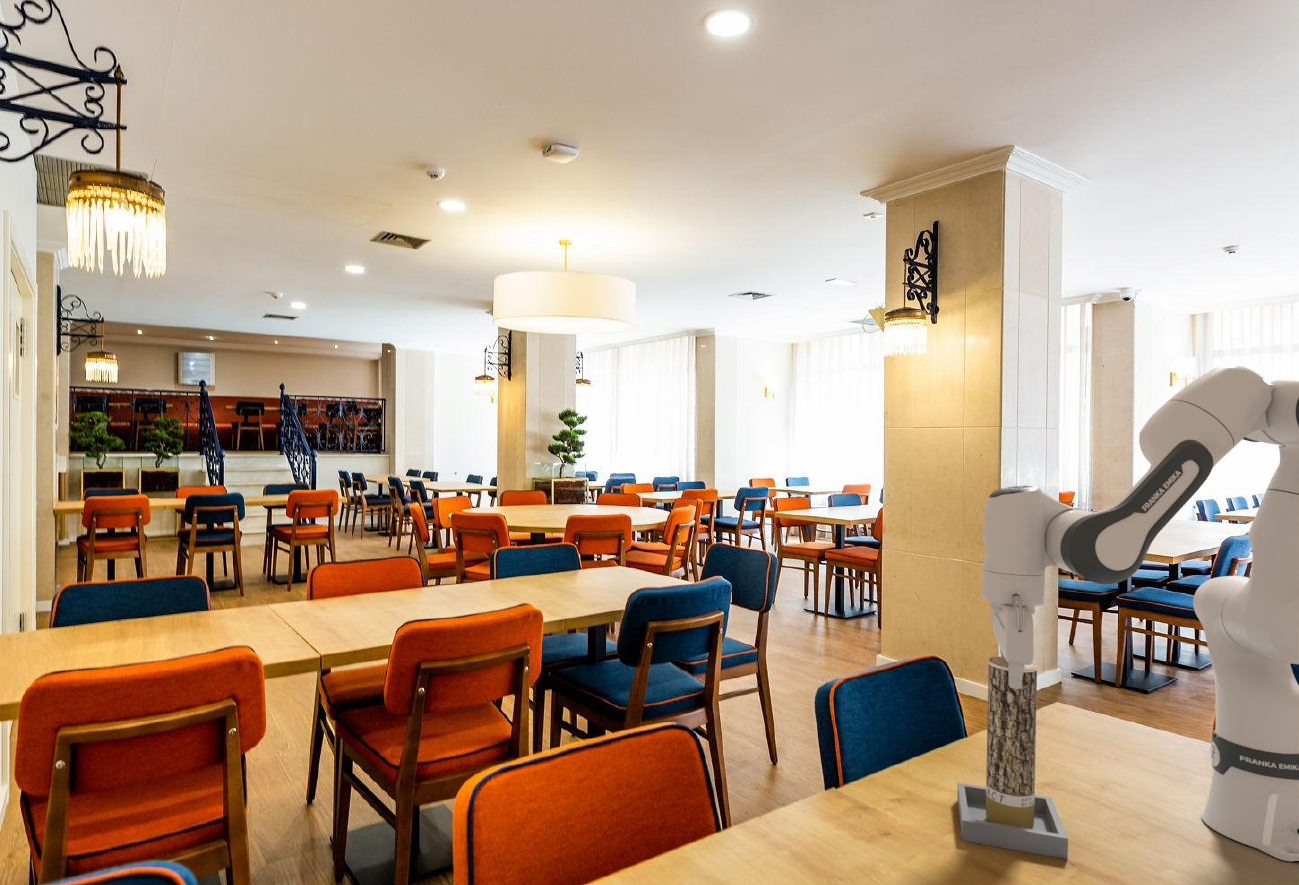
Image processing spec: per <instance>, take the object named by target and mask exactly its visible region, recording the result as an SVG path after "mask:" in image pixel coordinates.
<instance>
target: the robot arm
mask: <svg viewBox="0 0 1299 885" xmlns="http://www.w3.org/2000/svg"><path fill="white" fill-rule="evenodd" d="M1138 440H1139V442H1138V443H1139V448H1140V450H1141V453H1142V455H1143V457H1144V458H1145V460H1147V461H1148V462H1149V464H1150V467H1149V469H1148V470H1147V472H1146V473H1145V474H1144V475H1142V477H1141V478H1140V479H1139V480H1138V481H1137V482H1136V483H1135V484H1134V486H1132V487H1131V488H1130V489H1129V490H1128V491H1127V493H1126V494H1124V496H1123V497H1121V499H1120V500H1119V501H1118V502H1116V504H1114V505H1113V506H1110V507H1109V508H1106V509H1103V510H1099V511H1087V510H1082V509H1078V508H1075V507H1073V506H1071V505H1067V504H1065V503H1062V502H1061V501H1059V500H1056V499H1055V498H1053V497H1052V496H1049V495H1048V494H1047V493H1045V492H1044V491H1042V489H1041V488H1040V487H1038V486H1033V485H1022V486H1020V485H1016V486H1015V485H1014V486H1008V487H1003V488H999V489H997V490H994V491H993V492H992V493H990V494H989V496H988V498H987V500H986V503H985V507H984V508H985V509H984V513H983V514H984V515H983V524H982V525H983V526H982V544H983V548H984V560H983V562H982V564H981V566H982V567H981V569H982V570H981V598H982V599H983V600H984V601H986V602H989V609H990V618H991V627H992V631H993V635H994V637H995V639H996V642H997V643H998V646H999V651H1000V652H999V653H1000V657H1005V659H1006V661H1007V662H1008V684H1009V687H1011V688H1015V689H1021V688H1022V677H1023V672H1024V668H1025V665H1031V664H1032V663H1034V662H1033V661H1034V657H1035V656H1034V653H1035V652H1034V650H1035V649H1034V647H1035V646H1034V619H1033V615H1035V614H1036V609H1035V608H1036V607H1038V606H1043V605H1044V604H1045V587H1046V584H1045V578H1046V577H1045V573H1046V569H1047V567H1051V566H1053V567H1055V568H1058V569H1060V570H1061V569H1062V570H1063V571H1066V572H1068V573H1069V572H1070V573H1071V574H1074V575H1078V576H1080V577H1081V578H1083V579H1085V580H1086V581H1089V582H1091V583H1094V584H1099V585H1113V584H1114V585H1115V584H1118V583H1121V582H1123V581H1126V580H1127V579H1129V578H1132V576H1133V575H1134V574H1135V573H1136V572H1137V571H1138V570H1139V568H1140V567H1141V566H1142V564H1143V562H1144V560H1145V558H1146V556H1147V553H1148V551H1149V550H1150V547H1151V545H1152V543H1153V542H1154V539H1156V537H1157V535H1158V534H1159V533H1160V532H1161V531H1162V530H1163V529H1164V528H1165V526H1167V524H1168V523H1169V522H1170V521H1171V520H1172V519H1173V518H1174V517H1175V516H1176V515H1177V513H1179V511H1181V509H1182V508H1183V507H1184V506H1185V505H1186V504H1187V502H1189V500H1190V499H1192V497H1193V496H1194V495H1195V494H1196V492H1198V490H1199V489H1200V488H1201V487H1202V486H1203V484H1204V483H1205V482H1206V481H1207V479H1208V477H1210V475H1211V472H1212V470H1213V468H1214V467H1215V466H1216V465H1217V464H1218V463H1219V462H1220V461H1221V460H1222V459H1223V458H1224V457H1226V455H1227V454H1228V453H1230V452H1231V451H1232V450H1233V449H1234V448H1235V447H1236V446H1237V445H1238V444H1239V443H1240V442H1241V441H1242V440H1244V441H1247V442H1252V443H1264V444H1269V445H1277V446H1278V450H1279V465H1277V468H1276V470H1275V471H1274V473H1273V475H1272V478H1271V479H1270V481H1269V484H1268V486H1267V488H1266V490H1265V492H1264V495H1263V497H1262V499H1261V502H1260V504H1259V506H1258V509H1257V511H1256V514H1255V517H1254V518H1253V521H1252V523H1251V526H1250V528H1249V530H1248V535H1247V536H1248V542H1249V544H1250V546H1251V552H1252V554H1251V555H1252V561H1251V570H1250V576H1249V577H1248V576H1243V575H1223V576H1217V577H1213V578H1210V579H1208V580H1206V581H1205V582H1203V583H1201V585H1199V587H1198V588H1197V589H1196V590H1195V593H1194V596H1193V602H1192V604H1193V605H1192V606H1193V610H1194V613H1195V615H1196V617H1197V618H1198V620H1199V622H1200V624H1201V626H1202V629H1203V633H1204V636H1205V637H1204V638H1205V641H1206V645H1207V648H1208V649H1207V650H1208V654H1209V657H1210V663H1211V667H1212V671H1213V677H1214V685H1215V729H1214V730H1212V732H1211V742H1210V761H1211V762H1210V763H1211V766H1212V774H1211V783H1210V788H1209V791H1208V792H1209V793H1208V796H1207V799H1206V802H1205V806H1204V808H1203V810H1202V812H1201V819H1202V821H1203V822H1204V823H1205V824H1206V825H1207V826H1209V827H1210V828H1211V829H1212V830H1215V831H1216V832H1218V833H1219V834H1221V835H1222V836H1225V837H1227V838H1229V839H1232V840H1234V841H1237V842H1238V843H1241V844H1244V845H1248V846H1249V847H1252V848H1255V849H1258V850H1260V851H1262V852H1264V853H1266V854H1267V855H1270V856H1271V857H1274V858H1276V859H1279V860H1282V861H1286V862H1293V861H1299V684H1298V682H1297V679H1296V677H1295V674H1294V673H1293V672H1294V671H1293V668H1292V666H1291V664H1293V665H1299V373H1289V374H1284V375H1274V376H1273V375H1272V376H1266V377H1264V376H1263V377H1262V376H1261V375H1260V374H1258V373H1257V372H1255V371H1254V370H1252V369H1250V368H1249V367H1246V366H1241V365H1235V364H1224V365H1219V366H1217V367H1214V368H1213V369H1210V370H1209V371H1207V372H1206V373H1204V374H1203V375H1201V376H1199V377H1198V378H1196V379H1194V380H1193V381H1191V382H1190V383H1189V384H1187V385H1186V386H1184V387H1183V388H1182V389H1180V390H1179V391H1178V392H1177V393H1176V394H1174V395H1173V396H1172V397H1171V398H1169V400H1167V401H1166V402H1165V403H1164V404H1163V405H1161V406H1160V408H1158V409H1157V410H1155V412H1154V413H1153V414H1152V415H1151V416H1150V417H1149V419H1148V420H1147V422H1146V423H1145V424H1144V425H1143V427H1142V429H1140V432H1139V439H1138Z"/></svg>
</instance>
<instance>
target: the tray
mask: <svg viewBox="0 0 1299 885" xmlns="http://www.w3.org/2000/svg"><path fill="white" fill-rule="evenodd" d="M956 789H957V792H956V793H957V796H956V799H957V800H956V802H957V810H959V811H958V816H959V825H960V826H961V827H960V834H961V841H962V842H967V843H974V844H978V845H979V844H980V845H984V846H989V847H997V848H1000V849H1001V848H1002V849H1006V850H1012V851H1017V852H1018V851H1019V852H1023V853H1029V854H1034V855H1040V856H1045V857H1051V858H1055V859H1062V860H1067V861H1068V859H1069V858H1068V856H1069V855H1068V853H1069V850H1068V849H1069V847H1068V846H1069V837H1068V836H1067V833H1066V831H1065V828H1064V825H1063V823H1062V821H1061V818H1060V816H1059V813H1058V810H1057V808H1056V806H1055V803H1054V800H1053V799H1052V796H1045V795H1038V794H1035V802H1034V826H1033V828H1032V829H1027V828H1021V827H1015V826H1009V825H1003V824H998V823H992V822H989V821H988V819H987V817H986V786H981V785H976V784H968V783H961V782H957V788H956Z"/></svg>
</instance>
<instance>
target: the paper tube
mask: <svg viewBox="0 0 1299 885" xmlns="http://www.w3.org/2000/svg"><path fill="white" fill-rule="evenodd" d="M987 676H988V678H987V681H988V683H987V720H986V721H987V722H986V723H987V725H986V726H987V729H986V730H987V733H986V734H987V735H986V769H985V770H986V772H985V773H986V779H985V780H986V782H985V783H986V784H985V787H986V817H987V819H988V821H989V822H992V823H998V824H1003V825H1009V826H1015V827H1021V828H1027V829H1032V828H1033V826H1034V802H1035V795H1036V793H1035V791H1036V786H1035V785H1036V751H1037V750H1036V749H1037V748H1036V747H1037V746H1036V744H1037V743H1036V740H1037V736H1036V735H1037V694H1038V693H1037V692H1038V691H1037V690H1038V689H1037V688H1038V687H1037V685H1038V665H1037V664H1036V663H1034V662H1032V664H1031V665H1025V668H1024V672H1023V677H1022V688H1021V689H1015V688H1011V687H1009V684H1008V662H1007V661H1006V659H1005V657H1001V656H993V657H990V658H989V659H988V672H987Z"/></svg>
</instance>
